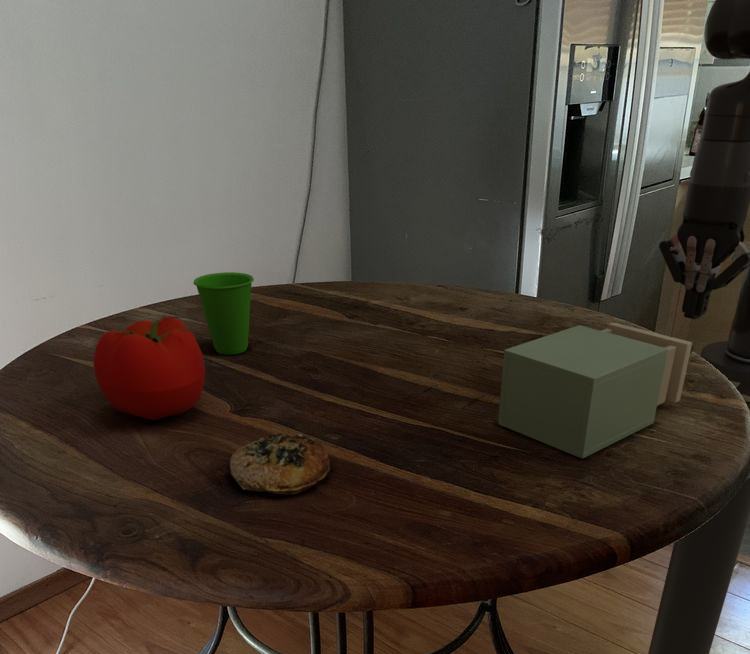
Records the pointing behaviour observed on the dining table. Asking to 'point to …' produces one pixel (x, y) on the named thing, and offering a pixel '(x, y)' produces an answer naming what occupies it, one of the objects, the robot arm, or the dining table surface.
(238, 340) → the cup
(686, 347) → the drawer
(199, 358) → the tomato
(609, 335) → the sage green box
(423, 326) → the dining table surface
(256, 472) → the bread roll
